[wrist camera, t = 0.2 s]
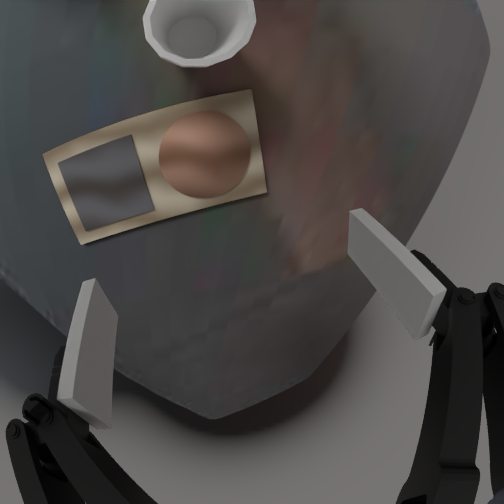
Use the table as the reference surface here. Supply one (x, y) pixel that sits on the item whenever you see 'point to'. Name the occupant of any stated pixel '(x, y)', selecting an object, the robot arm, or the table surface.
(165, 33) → the foam cup
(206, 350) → the table surface
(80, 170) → the sorting board
